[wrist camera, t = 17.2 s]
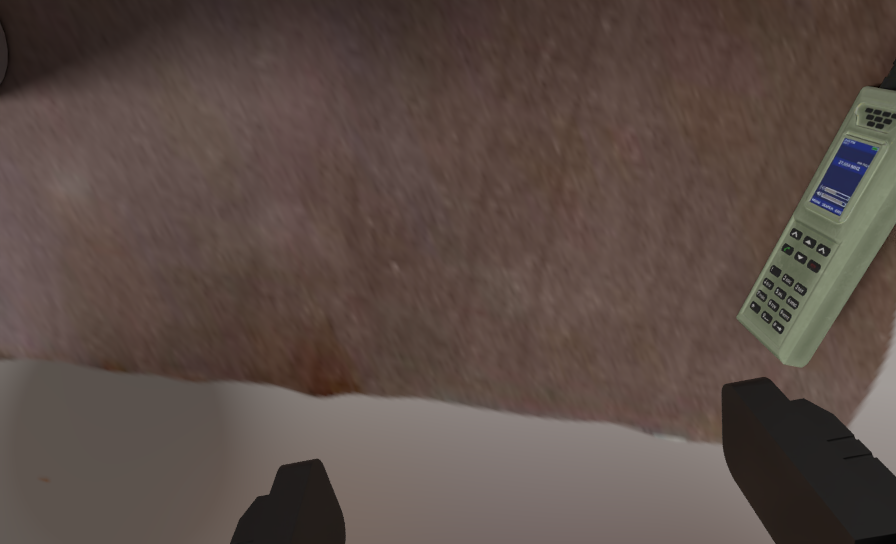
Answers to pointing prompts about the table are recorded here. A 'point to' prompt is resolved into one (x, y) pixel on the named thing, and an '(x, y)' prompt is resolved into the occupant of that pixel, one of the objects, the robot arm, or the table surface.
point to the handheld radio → (830, 232)
